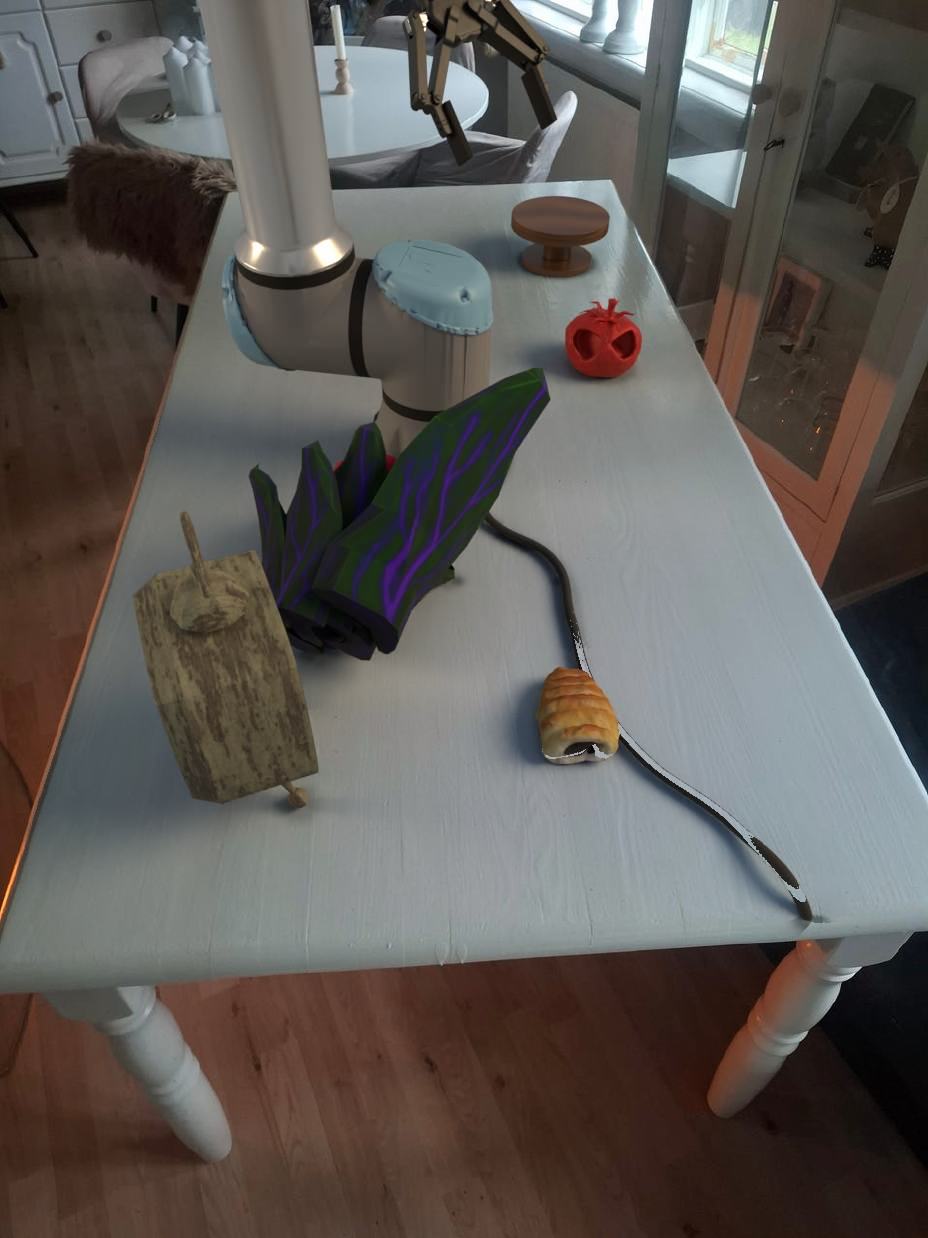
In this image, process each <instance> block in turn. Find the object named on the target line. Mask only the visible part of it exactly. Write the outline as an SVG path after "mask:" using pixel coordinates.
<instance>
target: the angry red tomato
mask: <svg viewBox="0 0 928 1238" xmlns="http://www.w3.org/2000/svg"><path fill="white" fill-rule="evenodd" d="M589 303H590V304H595V305H596V307H593V308H590V309H585V310H583V311H580V312H579V313H578V314H579V315H576V316H575V317H574V318H573V320H571V321H570V322H569V323H568V324H567V325H566V327H565V332H564V349H565V353H566V355H567V358H568V359H569V361H570V363H571V365H572V366H573V367H574V369H575V370H576V371H578V372H579V373H581V374H582V375H585V376H588V377H590V378H591V377H592V378H615V377H619V376H621V375H623V374H625V373H626V372H627V371H629V370H630V369H632V368H633V366H634V365H635V364H636V362H637V359H638V357H639V355H640V353H641V349H642V343H643V334H642V331H641V330H640V328H639V327H638V325H637V324H636V323H635V322H634V321H633V320H631V319H630V318H629V317H628V316H635V314H636V312H635V313H633V312H630V311H628V310H627V311H626V310H622V311H620V312H618V311H616V306H617V305H618V303H620V299H618V300H617V299H616V298H608V300H607V303H608V304H607V307H606V308H603V307H602V304H601V302H599V301H597V300H596V301H589ZM626 315H627V316H626Z"/></svg>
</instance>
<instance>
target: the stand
mask: <svg viewBox="0 0 928 1238" xmlns="http://www.w3.org/2000/svg"><path fill="white" fill-rule="evenodd" d="M510 217H511V218H510V219H511V220H510V221H511V222H510V227H511V230H512V231H513V233H514V234H515V235H517V236H518V237H520V238H521V239H523V240H525V241H528V242H531V243H533V244H530V245H529V246H527V247H525V248H524V249H523V251H522V253H521V263H522V265H523V266H524V267H525V269H527V270H528V271H530V272H532V273H534V274H536V275H541V276H543V277H550V278H551V277H552V278H567V277H568V278H569V277H575V276H578V275H581V274H584V273H585V272H587V271H588V270H589V269H590V267H591V266H592V260H593V257H592V254H591V252H590V251H589V250H588V249H586V248H585V247H584V246H587V245H590V244H591V245H592V244H595V243H597V242H599V241H600V240H602V239H604V238H605V237H606V236H607V235H608V233H609V227H610V220H611V216H610V213H609V211H608V210H607V209H606V208H605V207H604V206H601V204H598V203H595V202H593V201H591V200H588V199H585V198H579V197H574V196H566V195H544V196H537V197H533V198H528V199H525V200H523V201H521V202H519V203H517V204H516V205H515V206H514V207H513V208H512V210H511V216H510Z"/></svg>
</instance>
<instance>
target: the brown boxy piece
mask: <svg viewBox="0 0 928 1238" xmlns="http://www.w3.org/2000/svg"><path fill="white" fill-rule="evenodd" d="M179 521H180V525H181V530H182V534H183V537H184V539H185V543H186V546H187V549H188V553H189V556H190V559H191V563H190V565H188V566H184V567H180V568H176V569H172V570H168V571H164V572H160V573H155V574H154V575H152V576H151V578H150V579H148V581H147V582H145V583H144V584H143V585H142V586H141V587H140V588H139V589H138V590H137V591H136V592H135V593H134V594H132V600H133V601H132V602H133V607H134V612H135V618H136V622H137V627H138V633H139V638H140V643H141V648H142V652H143V656H144V661H145V666H146V670H147V674H148V679H149V684H150V689H151V693H152V696H153V700H154V703H155V707H156V710H157V713H158V716H159V719H160V723H161V724H162V725H161V726H162V727H163V731H164V732H165V735H166V738H167V741H168V743H169V746H170V748H171V751H172V753H173V756H174V758H175V762H176V764H177V767H178V769H179V770H180V771H179V772H180V773H181V776H182V778H183V780H184V782H185V783H184V784H185V785H186V788H187V790H188V793H189V794H190V796H191V797H192V799H195V800H200V801H205V802H209V803H216V804H220V805H224V804H227V803H229V802H233V801H236V800H239V799H241V798H245V797H248V796H250V795H254V794H257V793H260V792H262V791H266V790H269V789H273V788H275V787H279V786H282V787H283V789H285V790H286V791H287V792H288V793H289V794H288V803H289V804H290V805H291V806H292V807H293V808H295V809H302V808H304V807H306V806H307V804H308V803H309V802H310V794H309V792H308V791H307V790H306V789H305V788H304V787H298V786H297V787H295V786H294V785H293V781H297V780H301V779H304V778H307V777H309V776H313V775H315V774H318V773H319V769H320V767H319V763H318V756H317V750H316V745H315V744H316V743H315V739H314V738H315V737H314V734H313V729H312V724H311V720H310V714H309V711H308V705H307V701H306V696H305V692H304V688H303V684H302V679H301V676H300V675H301V674H300V672H299V667H298V664H297V661H296V657H295V655H294V651H293V648H292V646H291V645H290V642H289V639H288V636H287V633H286V630H285V627H284V625H283V622H282V619H281V616H280V613H279V611H278V608H277V605H276V602H275V599H274V596H273V594H272V591H271V588H270V586H269V583H268V580H267V578H266V575H265V573H264V570H263V567H262V561H261V560H260V557H259V555H258V553H257V551H256V549H253V550H248V551H245V552H244V551H243V552H240V553H236V554H232V555H227V556H224V557H221V558H216V559H212V560H208V561H206V560H205V559H204V558H203V555H202V553H201V552H202V551H201V549H200V545H199V540H198V537H197V534H196V530H195V526H194V524H193V521H192V518H191V516H190V513H189V512H188V511H187V510H182V511H181V512H180V513H179Z"/></svg>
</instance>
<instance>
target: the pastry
mask: <svg viewBox="0 0 928 1238" xmlns="http://www.w3.org/2000/svg"><path fill="white" fill-rule="evenodd" d="M593 679H594V677H593V678H591V677H590V676H589V674H588V673H587V672H585V671H583V670H579V668H566V667H564V666H558V667H556V668H555V669H553V670H552V671H551V672H549V673H548V675H546V677H545V679H544V681H543V685H542V687H541V692H540V693H539V698H540V699H539V698H538V705H539V704H540V705H539V706H538V708H537V710H536V712H535V718H536V720H538V721H537V722H538V726H539V731H540V743H541V746H542V745H543V750H542V749H541V752H542V751H543V753H544V754H545V755H548V756H550V757H561V756H566V755H570V754H574V753H577V752H578V753H579V752H581V751H583V750H585V749H586V750H585V751H584V752H583V753H581V754H578V755H574V756H568V757H562V758H556V759H548V758H546V757H545V756H544V755H543V754H542V756H543V758H545V759H547V761H549V762H550V763H551V764H555V765H573V764H577V763H581V762H584V761H588V762H604V761H607V760H608V759H609V758H607V759H605V758H599V757H597V756H595V750H594V748H593V746H592V745H594V744H596V746H597V747H598V748H599V751H600V752H604V754H606V755H610V754H613V753H615V754H616V752H617V750H618V749H619V729H618V722H619V721H618V722H617V720H618V718H617V717H616V715H615V711H614V707H613V706H612V704H611V702H610V699H609V698H608V697H607V696H606V695H605V693H604V690H603V689H602V688H600V687H599V685H598V684H597V683H596V680H595V679H594V680H593Z"/></svg>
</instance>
